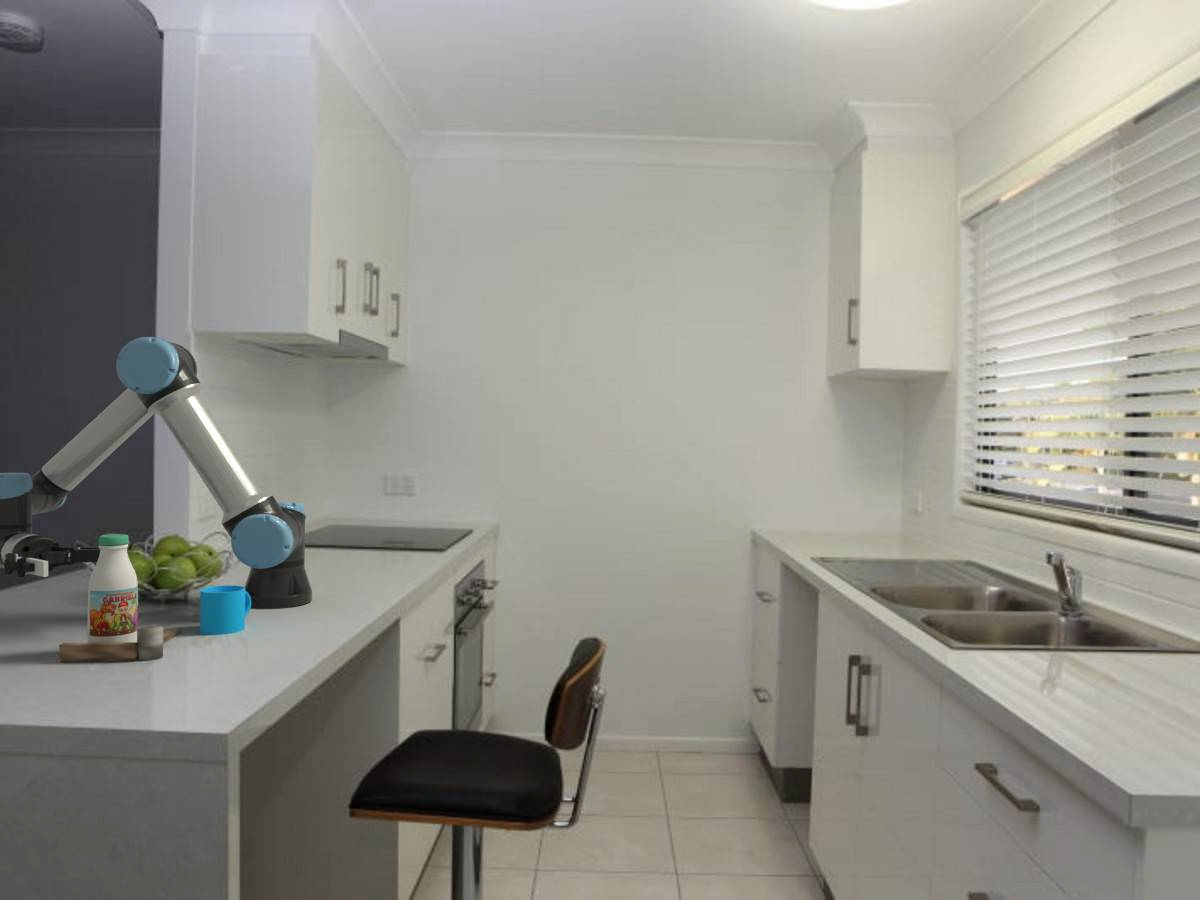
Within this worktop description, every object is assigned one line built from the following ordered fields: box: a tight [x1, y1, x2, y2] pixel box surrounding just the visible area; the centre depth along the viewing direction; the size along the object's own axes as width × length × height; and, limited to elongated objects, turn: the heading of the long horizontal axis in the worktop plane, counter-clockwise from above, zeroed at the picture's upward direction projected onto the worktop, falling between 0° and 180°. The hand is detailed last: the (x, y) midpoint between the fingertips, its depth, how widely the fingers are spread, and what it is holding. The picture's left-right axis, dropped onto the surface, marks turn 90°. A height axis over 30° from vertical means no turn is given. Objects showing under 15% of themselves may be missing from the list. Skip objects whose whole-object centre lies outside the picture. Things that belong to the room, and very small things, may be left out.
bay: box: [58, 625, 181, 663], centre depth 153 cm, size 16×21×5 cm
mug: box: [199, 584, 252, 636], centre depth 169 cm, size 12×8×8 cm
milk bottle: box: [86, 533, 139, 643], centre depth 149 cm, size 8×8×20 cm
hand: (86, 563), depth 154 cm, fingers open, 13 cm apart
